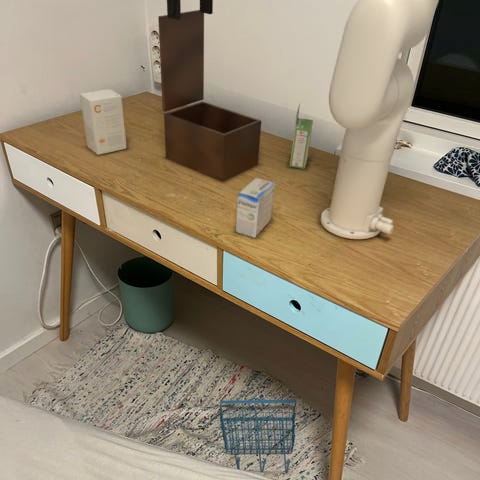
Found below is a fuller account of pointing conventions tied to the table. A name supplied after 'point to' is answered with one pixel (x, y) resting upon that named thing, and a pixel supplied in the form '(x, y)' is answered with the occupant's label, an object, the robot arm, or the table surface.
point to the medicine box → (254, 207)
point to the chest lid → (182, 59)
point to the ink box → (301, 142)
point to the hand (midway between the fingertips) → (190, 15)
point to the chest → (212, 140)
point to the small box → (103, 121)
